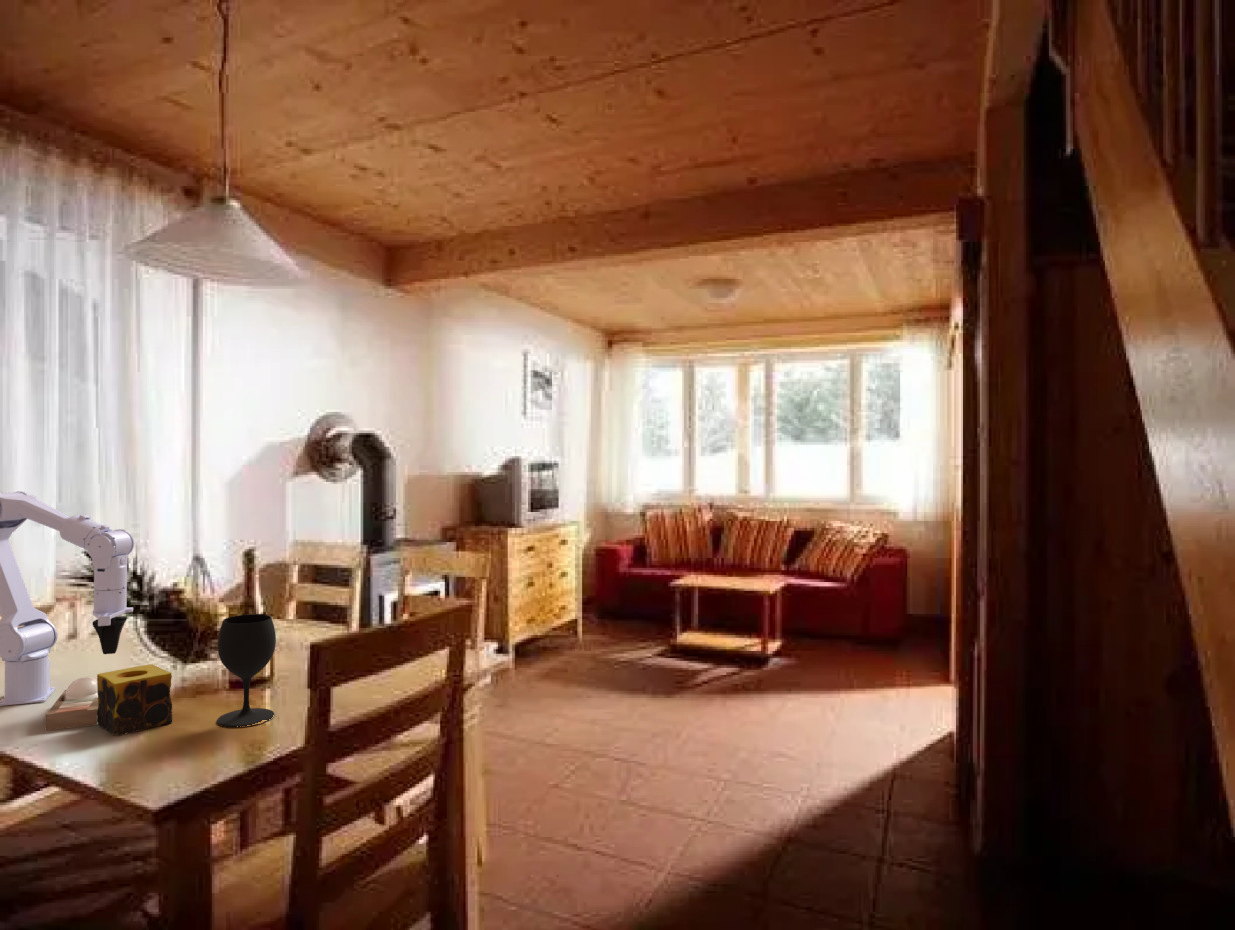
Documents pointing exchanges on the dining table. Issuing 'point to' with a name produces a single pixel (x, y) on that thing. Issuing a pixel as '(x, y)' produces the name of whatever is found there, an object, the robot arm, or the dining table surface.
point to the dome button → (82, 688)
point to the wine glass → (246, 660)
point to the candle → (134, 699)
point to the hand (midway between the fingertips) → (109, 653)
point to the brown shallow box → (72, 713)
